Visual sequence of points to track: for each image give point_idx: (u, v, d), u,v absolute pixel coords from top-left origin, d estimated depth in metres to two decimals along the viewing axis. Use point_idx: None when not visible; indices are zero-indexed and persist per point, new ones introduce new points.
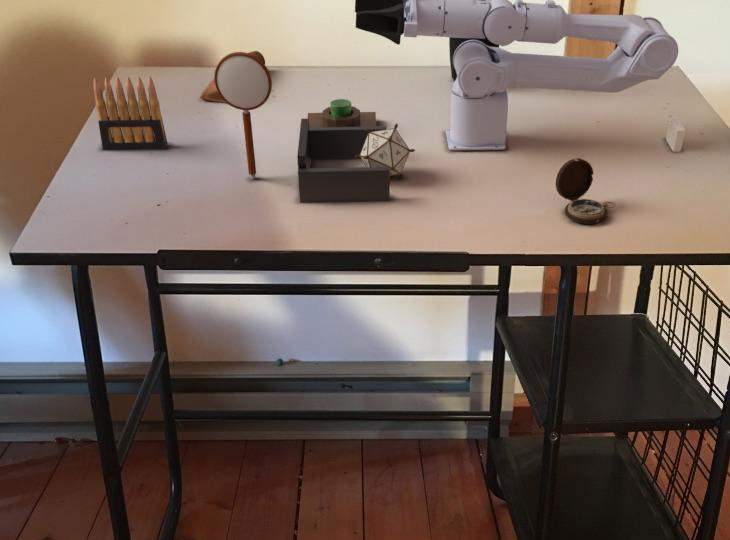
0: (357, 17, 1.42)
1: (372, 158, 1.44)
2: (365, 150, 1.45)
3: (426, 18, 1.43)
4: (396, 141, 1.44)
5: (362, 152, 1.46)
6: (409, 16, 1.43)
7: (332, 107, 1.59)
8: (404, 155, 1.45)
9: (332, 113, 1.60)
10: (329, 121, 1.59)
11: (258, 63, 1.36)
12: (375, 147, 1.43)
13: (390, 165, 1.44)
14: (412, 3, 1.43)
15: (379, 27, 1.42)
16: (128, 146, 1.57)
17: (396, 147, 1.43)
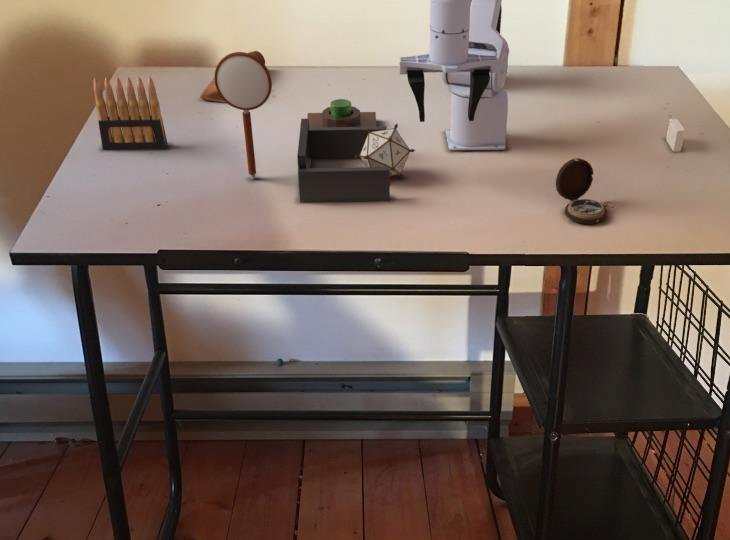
0: (473, 118, 1.43)
1: (372, 158, 1.44)
2: (365, 150, 1.45)
3: (468, 47, 1.36)
4: (396, 141, 1.44)
5: (362, 152, 1.46)
6: None
7: (332, 107, 1.59)
8: (404, 155, 1.45)
9: (332, 113, 1.60)
10: (329, 121, 1.59)
11: (258, 63, 1.36)
12: (375, 147, 1.43)
13: (390, 165, 1.44)
14: (464, 68, 1.36)
15: None
16: (128, 146, 1.57)
17: (396, 147, 1.43)
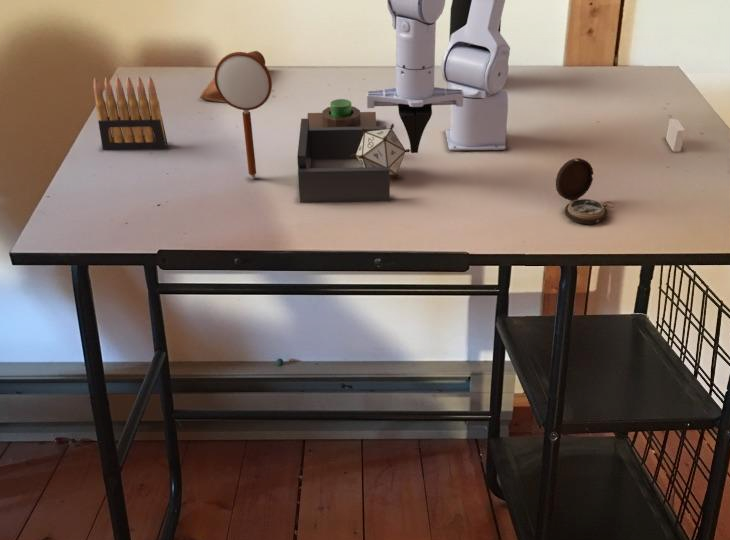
0: None
1: (367, 158, 1.44)
2: (361, 150, 1.45)
3: (433, 82, 1.39)
4: (392, 141, 1.44)
5: (358, 152, 1.47)
6: None
7: (332, 107, 1.59)
8: (399, 155, 1.45)
9: (332, 113, 1.60)
10: (329, 121, 1.59)
11: (258, 63, 1.36)
12: (370, 147, 1.43)
13: (385, 165, 1.44)
14: (430, 102, 1.39)
15: None
16: (128, 146, 1.57)
17: (391, 147, 1.43)
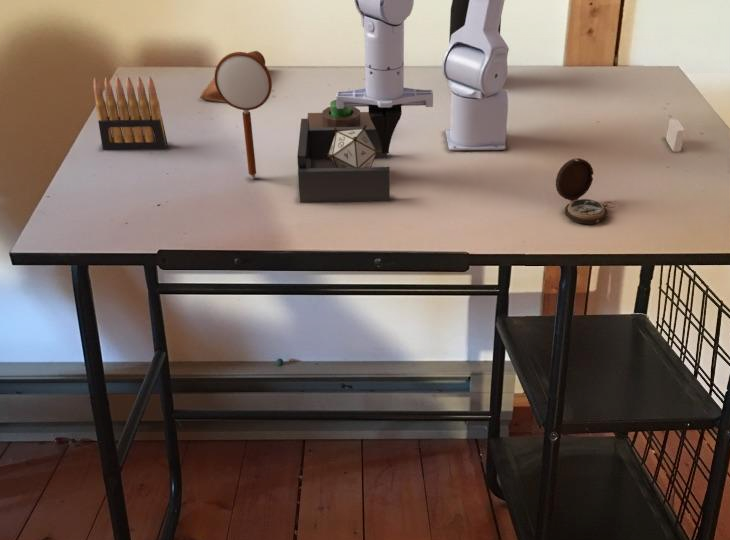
0: (388, 150, 1.46)
1: (337, 157, 1.44)
2: (332, 149, 1.45)
3: (403, 83, 1.39)
4: (362, 141, 1.44)
5: (330, 151, 1.47)
6: None
7: (332, 107, 1.59)
8: (370, 156, 1.45)
9: (332, 113, 1.60)
10: (329, 121, 1.59)
11: (258, 63, 1.36)
12: (340, 147, 1.44)
13: (354, 165, 1.44)
14: (399, 103, 1.39)
15: None
16: (128, 146, 1.57)
17: (361, 147, 1.43)
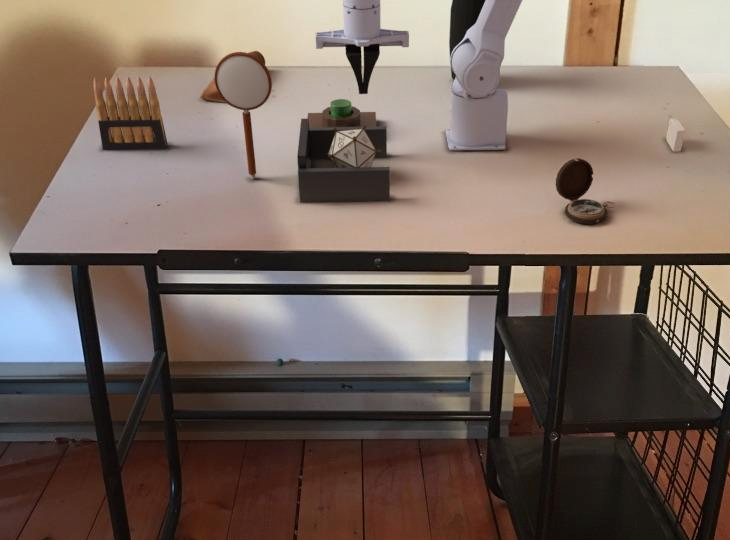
0: (367, 91, 1.50)
1: (337, 157, 1.44)
2: (332, 149, 1.45)
3: None
4: (362, 141, 1.44)
5: (329, 151, 1.47)
6: None
7: (332, 107, 1.59)
8: (370, 156, 1.45)
9: (332, 113, 1.60)
10: (329, 121, 1.59)
11: (258, 63, 1.36)
12: (340, 147, 1.44)
13: (354, 165, 1.44)
14: (376, 42, 1.44)
15: None
16: (128, 146, 1.57)
17: (361, 147, 1.43)
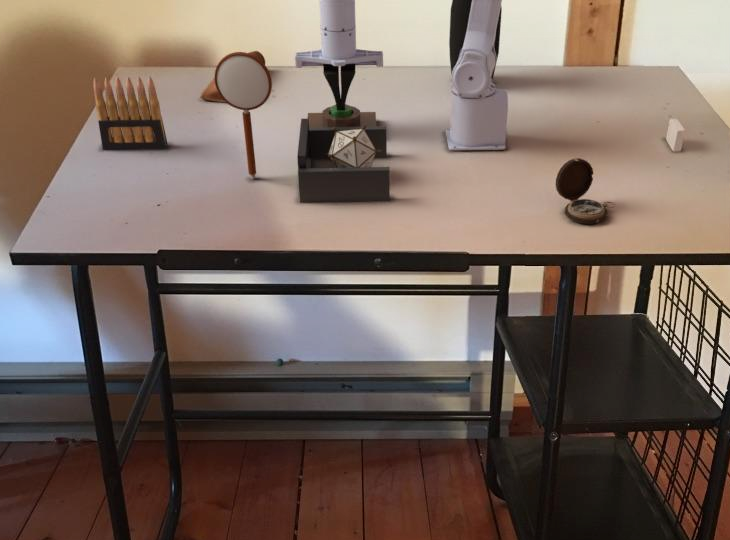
0: None
1: (337, 157, 1.44)
2: (332, 149, 1.45)
3: (355, 44, 1.53)
4: (362, 141, 1.44)
5: (329, 151, 1.47)
6: None
7: (332, 112, 1.59)
8: (370, 156, 1.45)
9: None
10: (329, 121, 1.59)
11: (258, 63, 1.36)
12: (340, 147, 1.44)
13: (354, 165, 1.44)
14: (352, 62, 1.53)
15: None
16: (128, 146, 1.57)
17: (361, 147, 1.43)
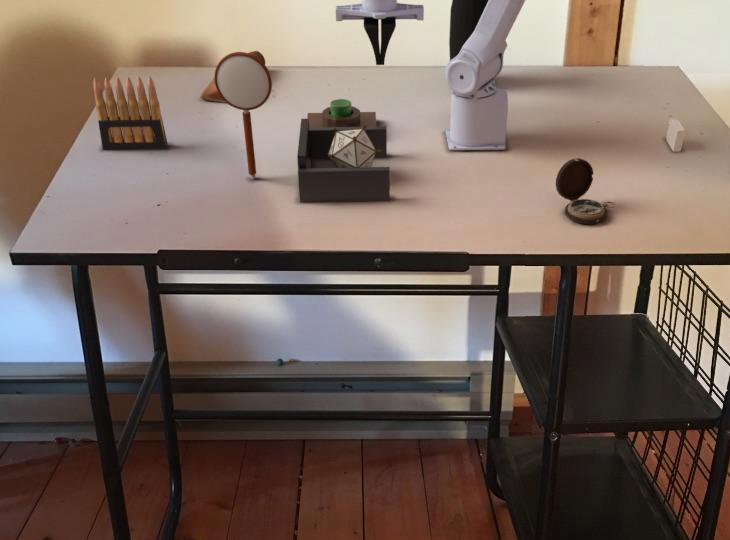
0: None
1: (337, 157, 1.44)
2: (332, 149, 1.45)
3: None
4: (362, 141, 1.44)
5: (329, 151, 1.47)
6: None
7: (332, 107, 1.59)
8: (370, 156, 1.45)
9: (332, 113, 1.60)
10: (329, 121, 1.59)
11: (258, 63, 1.36)
12: (340, 147, 1.44)
13: (354, 165, 1.44)
14: (392, 15, 1.52)
15: None
16: (128, 146, 1.57)
17: (361, 147, 1.43)
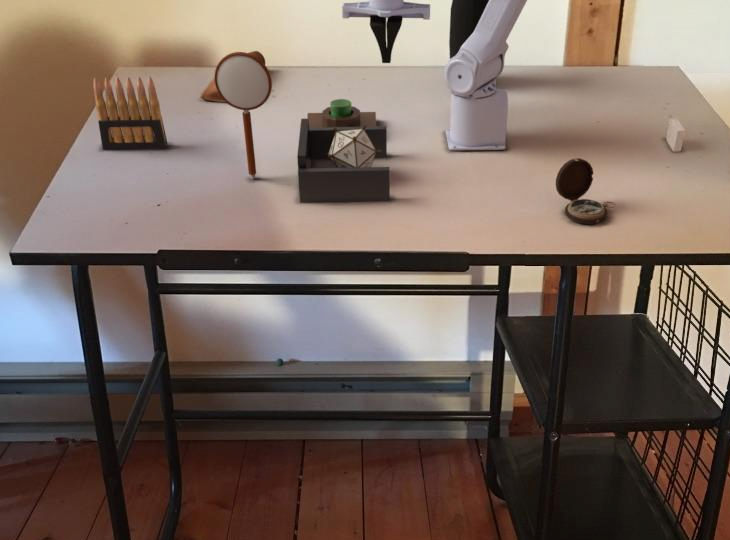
0: (390, 61, 1.60)
1: (337, 157, 1.44)
2: (332, 149, 1.45)
3: None
4: (362, 141, 1.44)
5: (329, 151, 1.47)
6: None
7: (332, 107, 1.59)
8: (370, 156, 1.45)
9: (332, 113, 1.60)
10: (329, 121, 1.59)
11: (258, 63, 1.36)
12: (340, 147, 1.44)
13: (354, 165, 1.44)
14: (398, 13, 1.53)
15: None
16: (128, 146, 1.57)
17: (361, 147, 1.43)
